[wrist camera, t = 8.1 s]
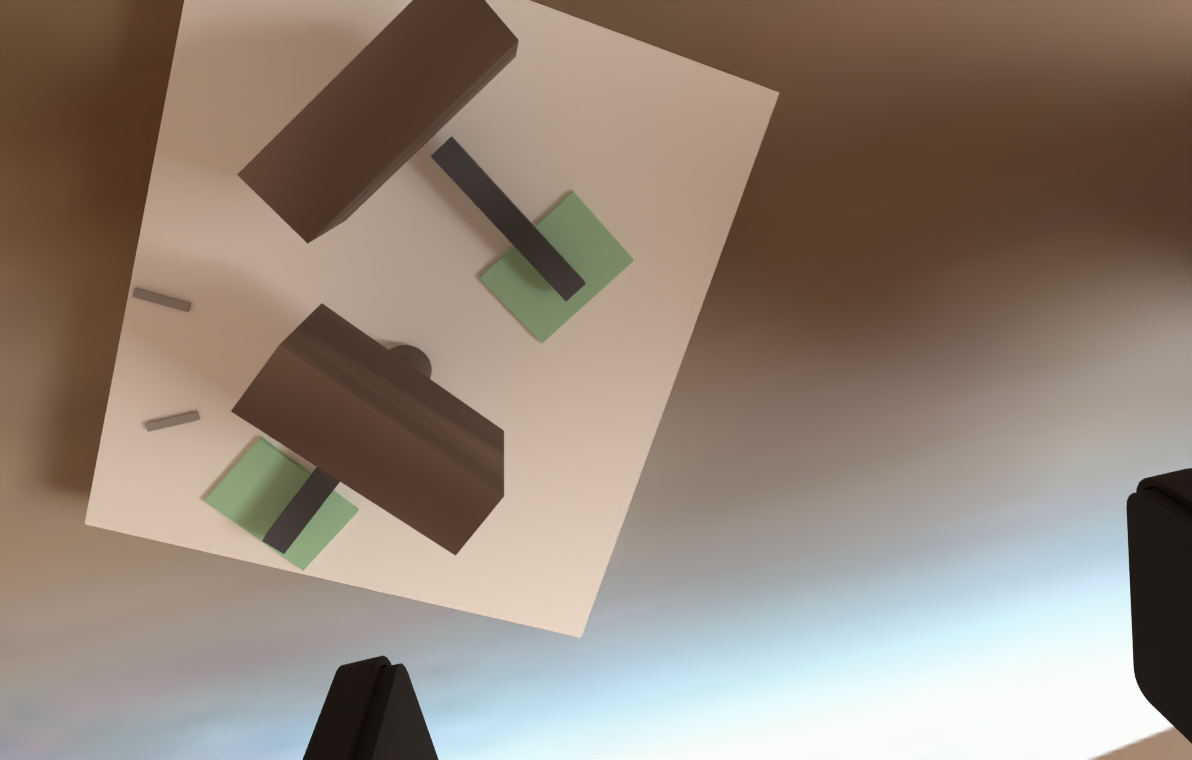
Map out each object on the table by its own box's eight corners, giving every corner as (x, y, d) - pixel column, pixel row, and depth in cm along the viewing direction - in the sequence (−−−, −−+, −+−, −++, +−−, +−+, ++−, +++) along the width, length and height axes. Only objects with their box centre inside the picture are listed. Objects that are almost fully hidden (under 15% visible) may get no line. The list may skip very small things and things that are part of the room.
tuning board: (754, 95, 32) (781, 92, 29) (575, 598, 37) (581, 641, 34) (236, -95, 28) (204, -122, 25) (120, 490, 34) (81, 526, 31)
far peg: (339, 285, 29) (279, 344, 21) (503, 402, 31) (504, 496, 23) (196, 479, 31) (91, 601, 23) (361, 580, 32) (316, 725, 25)
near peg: (311, 160, 28) (236, 174, 20) (466, 8, 27) (452, -39, 19) (500, 352, 30) (499, 431, 23) (647, 218, 30) (699, 252, 22)
